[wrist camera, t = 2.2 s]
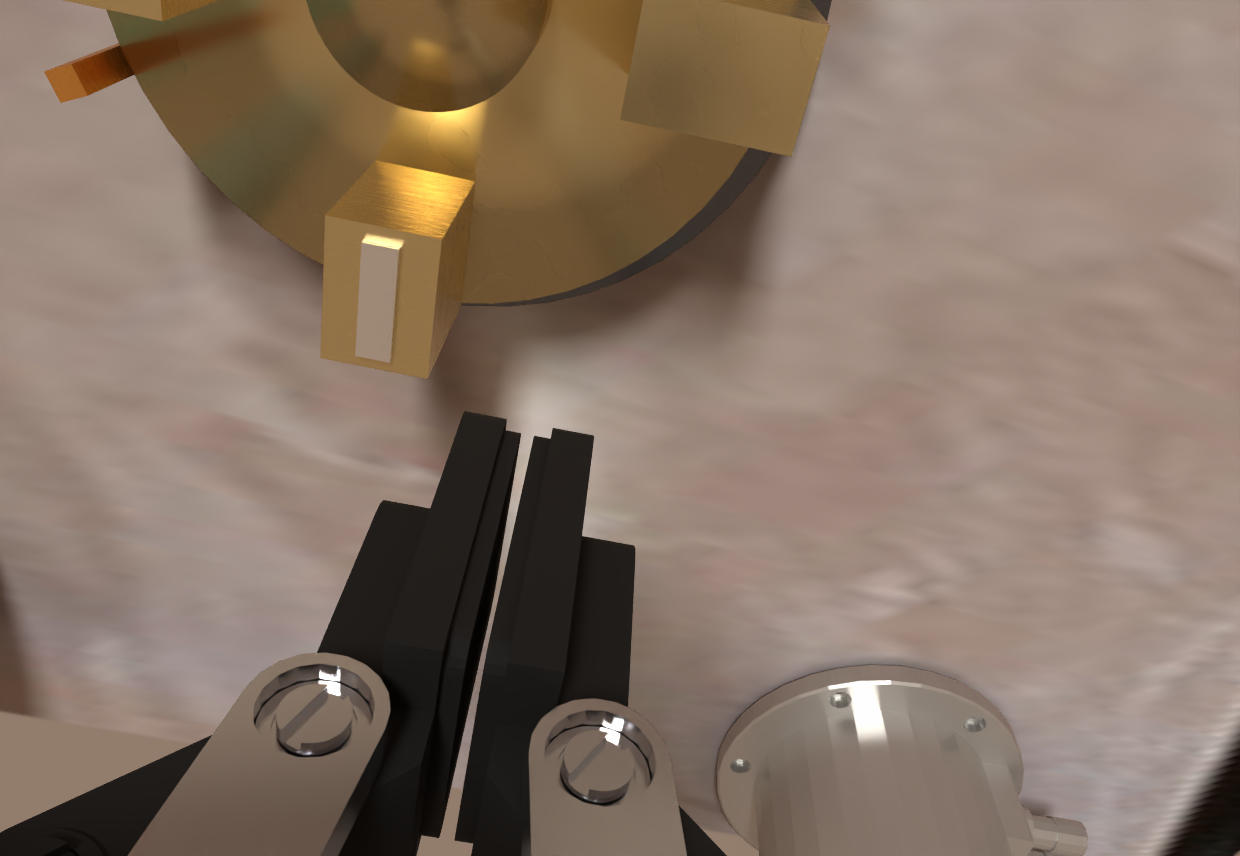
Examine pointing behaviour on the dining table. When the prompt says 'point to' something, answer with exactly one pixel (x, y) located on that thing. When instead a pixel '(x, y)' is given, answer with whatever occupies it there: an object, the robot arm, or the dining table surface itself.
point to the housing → (115, 67)
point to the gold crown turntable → (467, 136)
